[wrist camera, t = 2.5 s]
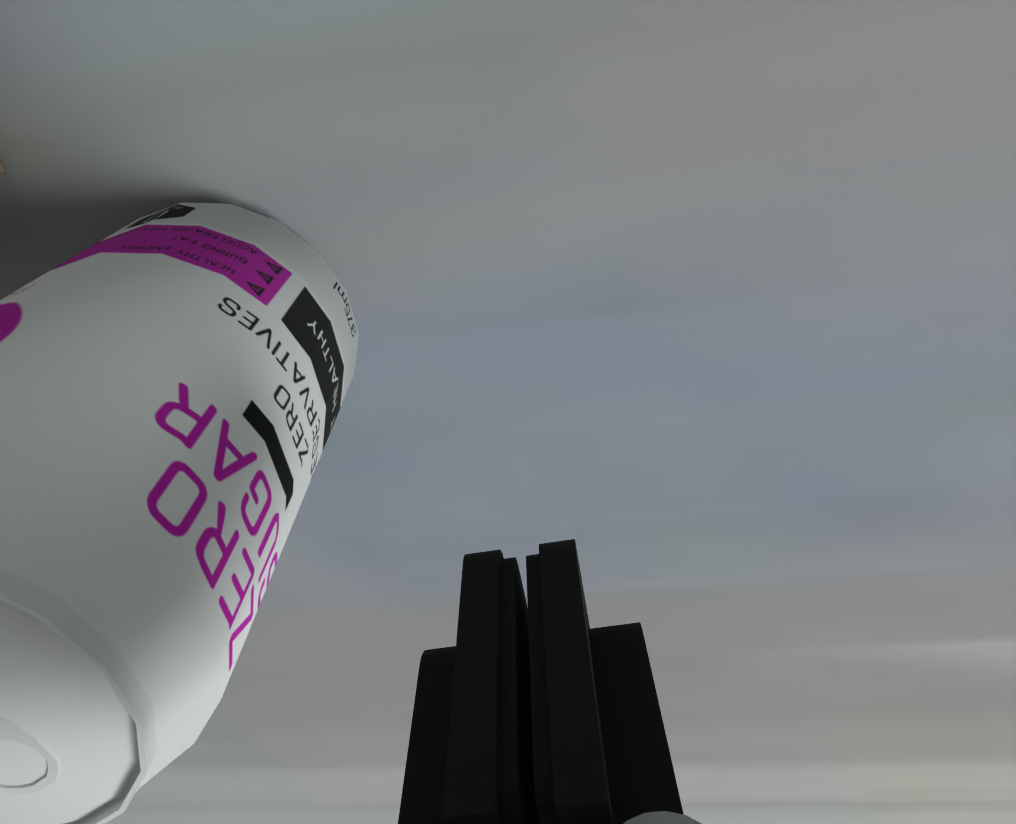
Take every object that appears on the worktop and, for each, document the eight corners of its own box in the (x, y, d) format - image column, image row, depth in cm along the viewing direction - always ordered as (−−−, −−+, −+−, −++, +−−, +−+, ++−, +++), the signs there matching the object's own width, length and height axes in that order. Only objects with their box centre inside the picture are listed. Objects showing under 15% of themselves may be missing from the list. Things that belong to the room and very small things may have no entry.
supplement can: (57, 305, 23) (-520, 695, 10) (223, 137, 20) (-267, 371, 8) (249, 465, 26) (-2, 918, 13) (413, 338, 24) (299, 745, 11)
